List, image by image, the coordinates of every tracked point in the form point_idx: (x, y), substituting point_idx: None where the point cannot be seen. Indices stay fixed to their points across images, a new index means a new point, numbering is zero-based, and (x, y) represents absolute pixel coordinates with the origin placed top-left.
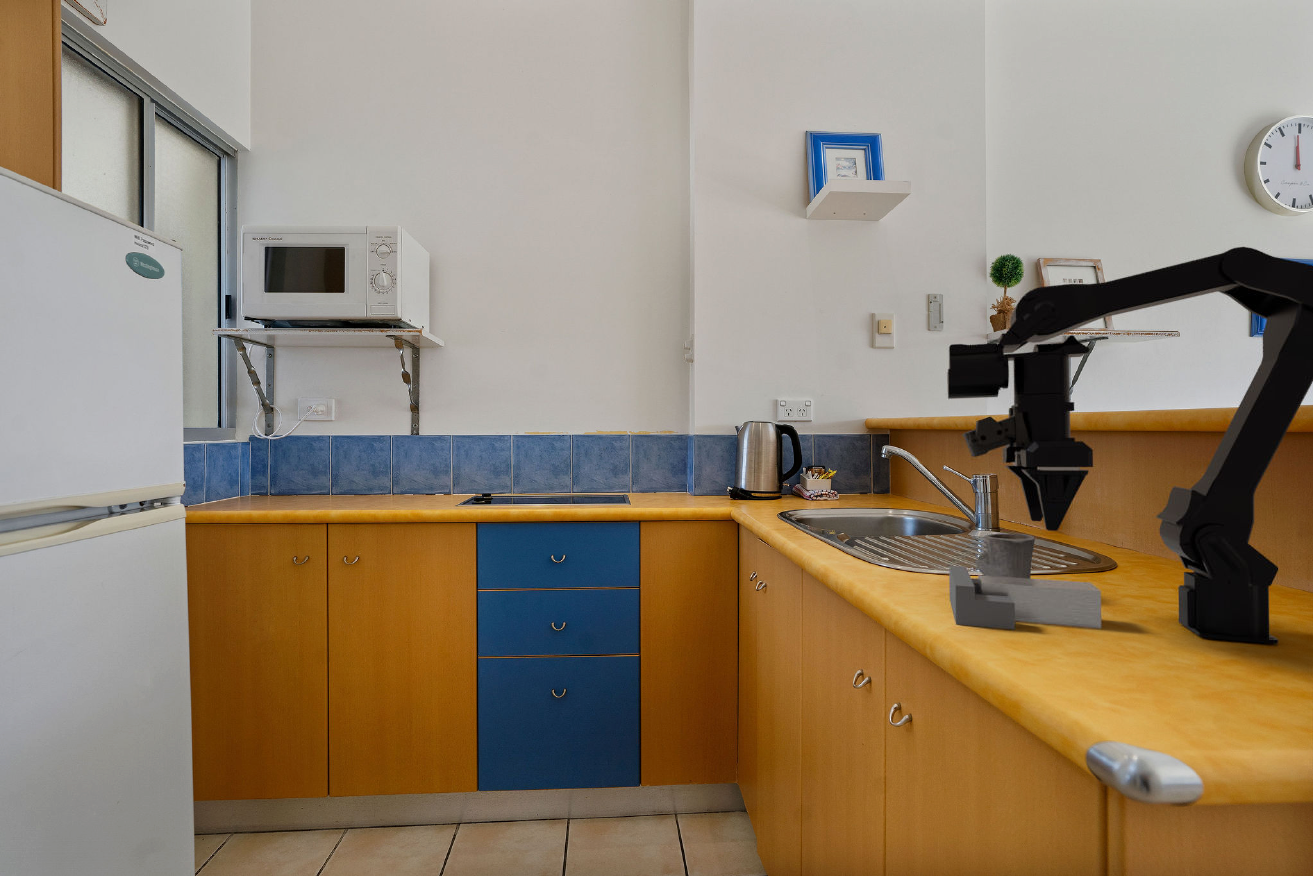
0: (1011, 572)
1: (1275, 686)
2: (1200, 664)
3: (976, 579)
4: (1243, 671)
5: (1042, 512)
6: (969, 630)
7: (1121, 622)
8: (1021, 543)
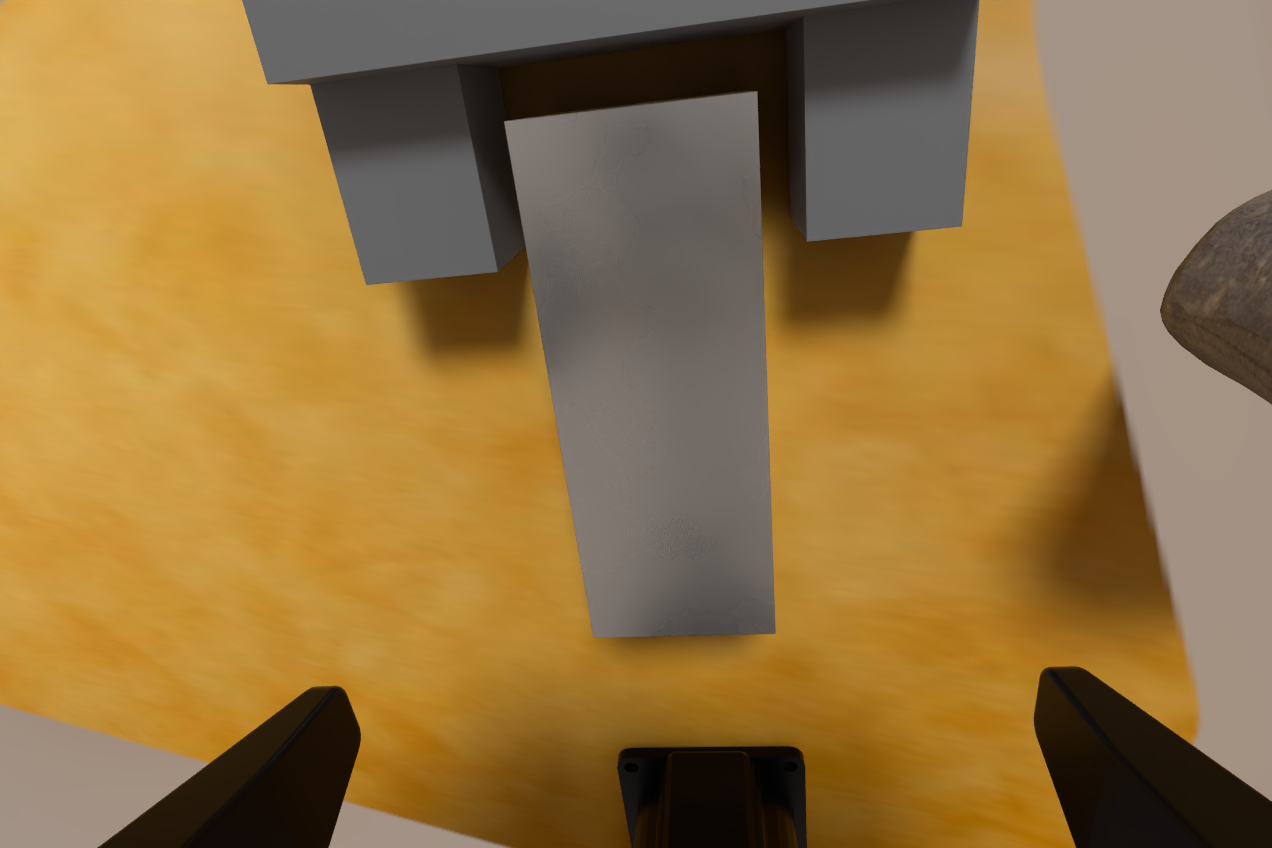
0: (1241, 304)
1: None
2: (351, 680)
3: (943, 73)
4: None
5: (225, 795)
6: None
7: None
8: None
